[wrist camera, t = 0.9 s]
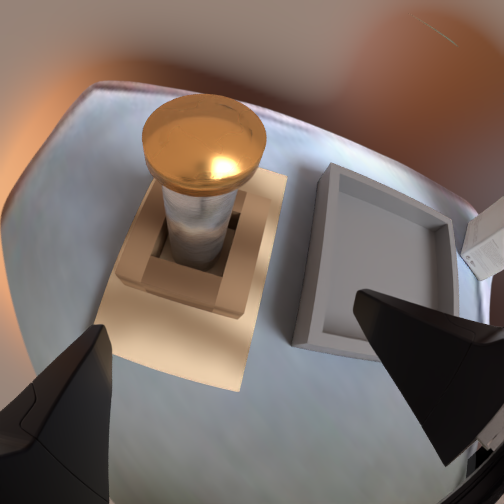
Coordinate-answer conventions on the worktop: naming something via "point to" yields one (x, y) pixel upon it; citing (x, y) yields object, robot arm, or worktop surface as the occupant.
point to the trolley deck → (186, 325)
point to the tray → (370, 260)
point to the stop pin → (201, 169)
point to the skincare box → (485, 242)
